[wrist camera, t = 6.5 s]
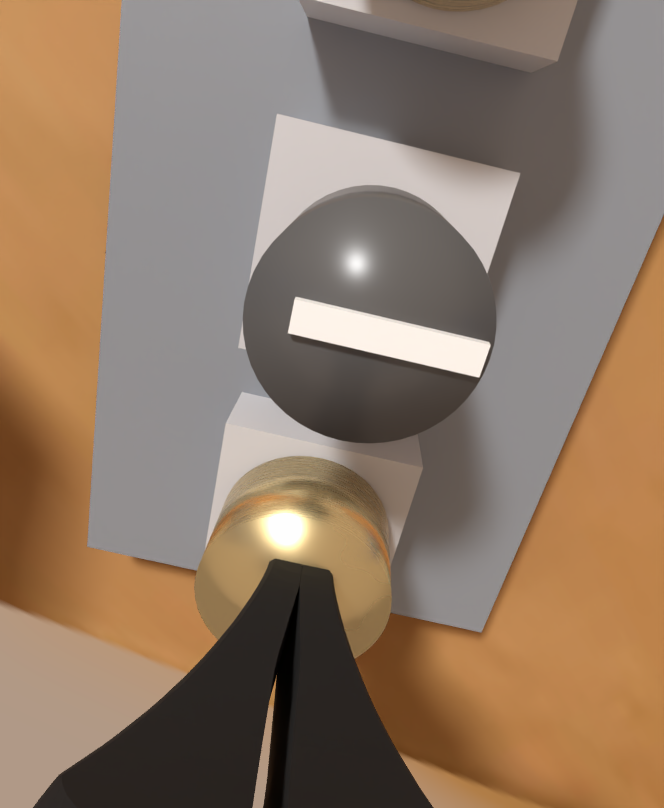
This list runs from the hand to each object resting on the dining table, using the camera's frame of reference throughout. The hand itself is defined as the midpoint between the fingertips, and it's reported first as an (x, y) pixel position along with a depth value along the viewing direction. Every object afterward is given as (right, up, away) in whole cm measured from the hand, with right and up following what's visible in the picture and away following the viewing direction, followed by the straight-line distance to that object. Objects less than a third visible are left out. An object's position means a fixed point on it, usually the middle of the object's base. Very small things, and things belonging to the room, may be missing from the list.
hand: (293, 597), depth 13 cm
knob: (0, +2, +4) cm, 5 cm away
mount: (+2, +9, +3) cm, 10 cm away
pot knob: (+2, +7, -1) cm, 7 cm away
